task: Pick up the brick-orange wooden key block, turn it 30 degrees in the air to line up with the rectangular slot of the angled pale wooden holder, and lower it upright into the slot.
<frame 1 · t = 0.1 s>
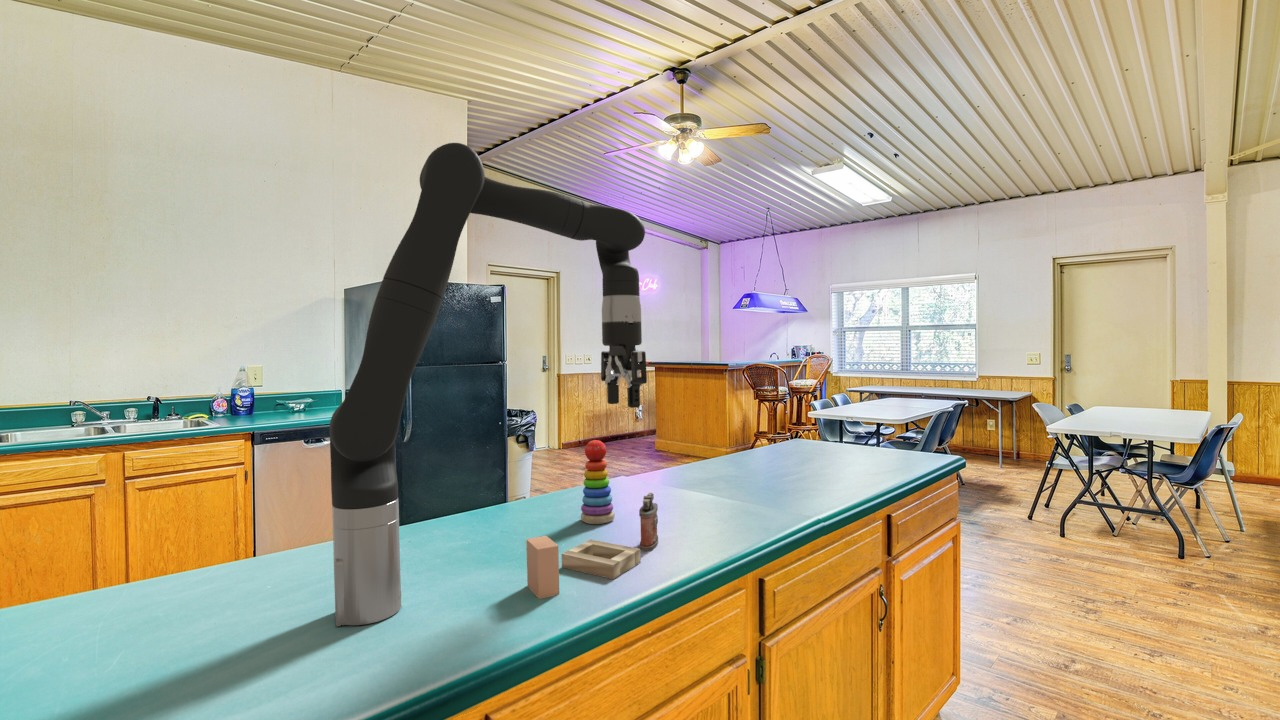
hand: (623, 405, 110), 29 cm above the counter, tool pointing down, fingers open, 8 cm apart
holder: (601, 564, 107), on the counter
key block: (543, 589, 96), on the counter
stacking toy: (597, 521, 135), on the counter
lighter: (649, 545, 117), on the counter
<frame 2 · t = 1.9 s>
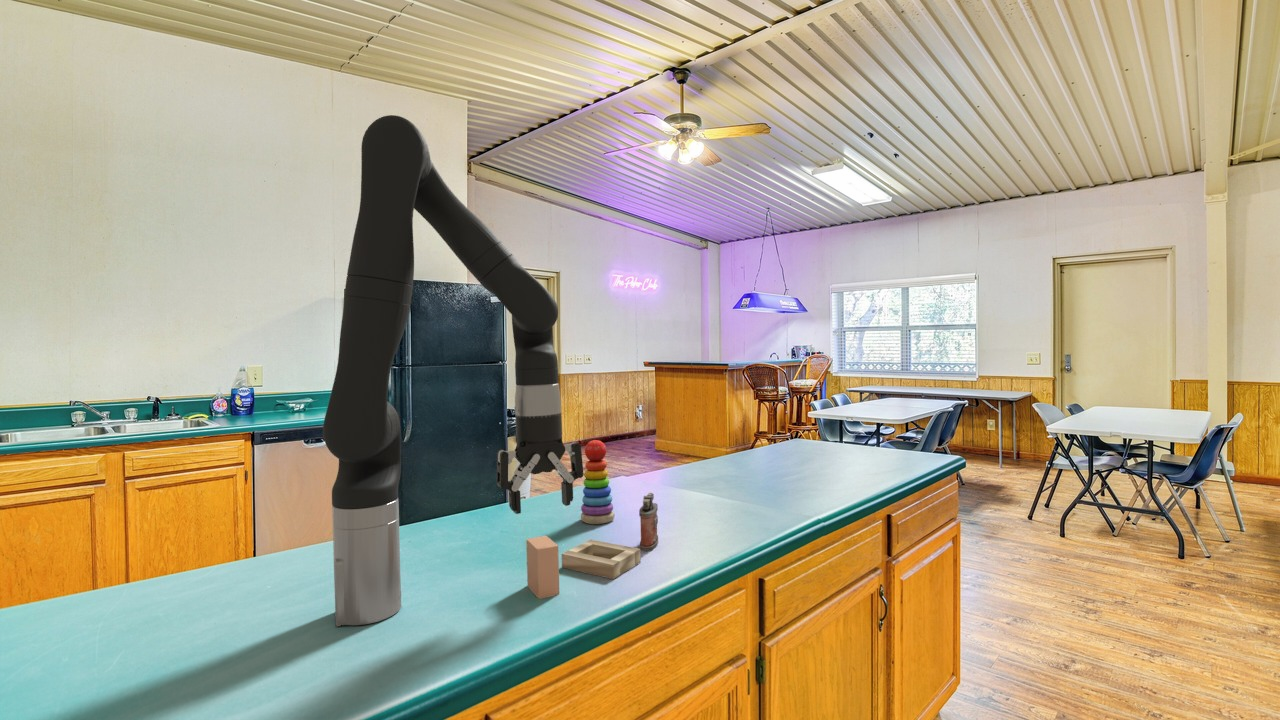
hand: (542, 508, 96), 14 cm above the counter, tool pointing down, fingers open, 8 cm apart
nothing on the counter moved.
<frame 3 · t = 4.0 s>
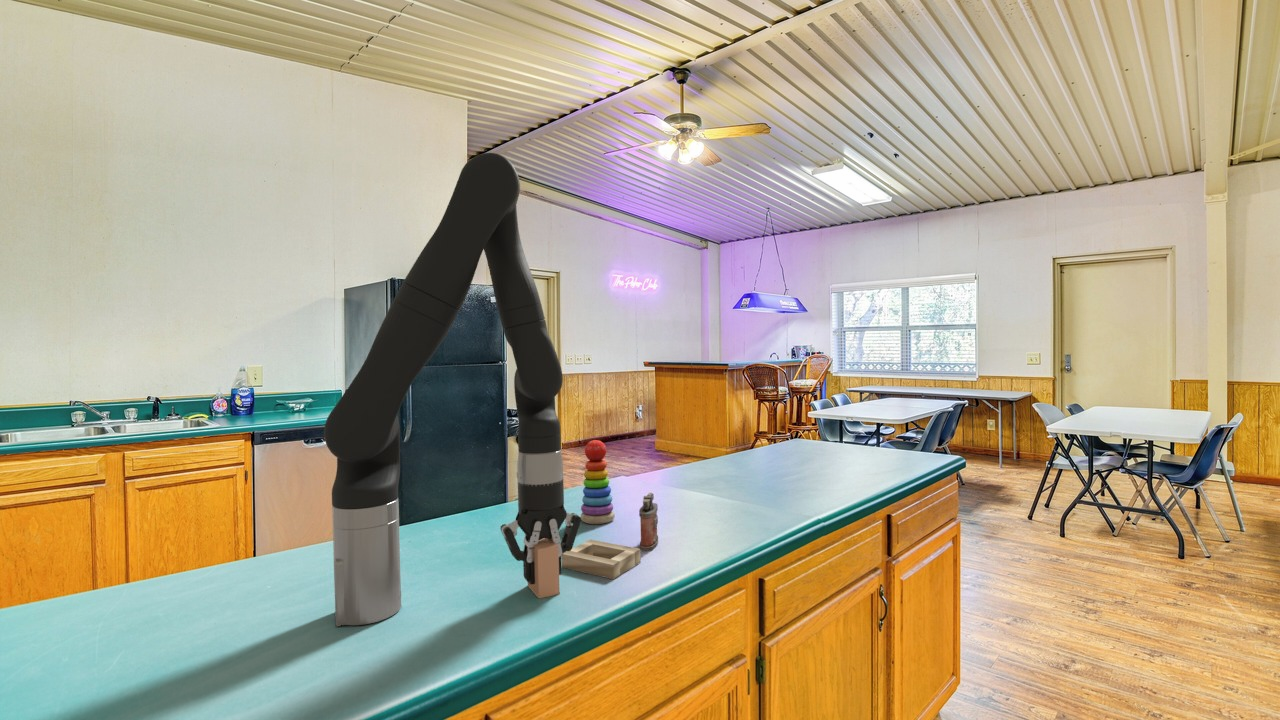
hand: (543, 579, 96), 2 cm above the counter, tool pointing down, fingers closed on key block, 3 cm apart
key block: (543, 589, 96), on the counter, touching gripper
everything else where it was.
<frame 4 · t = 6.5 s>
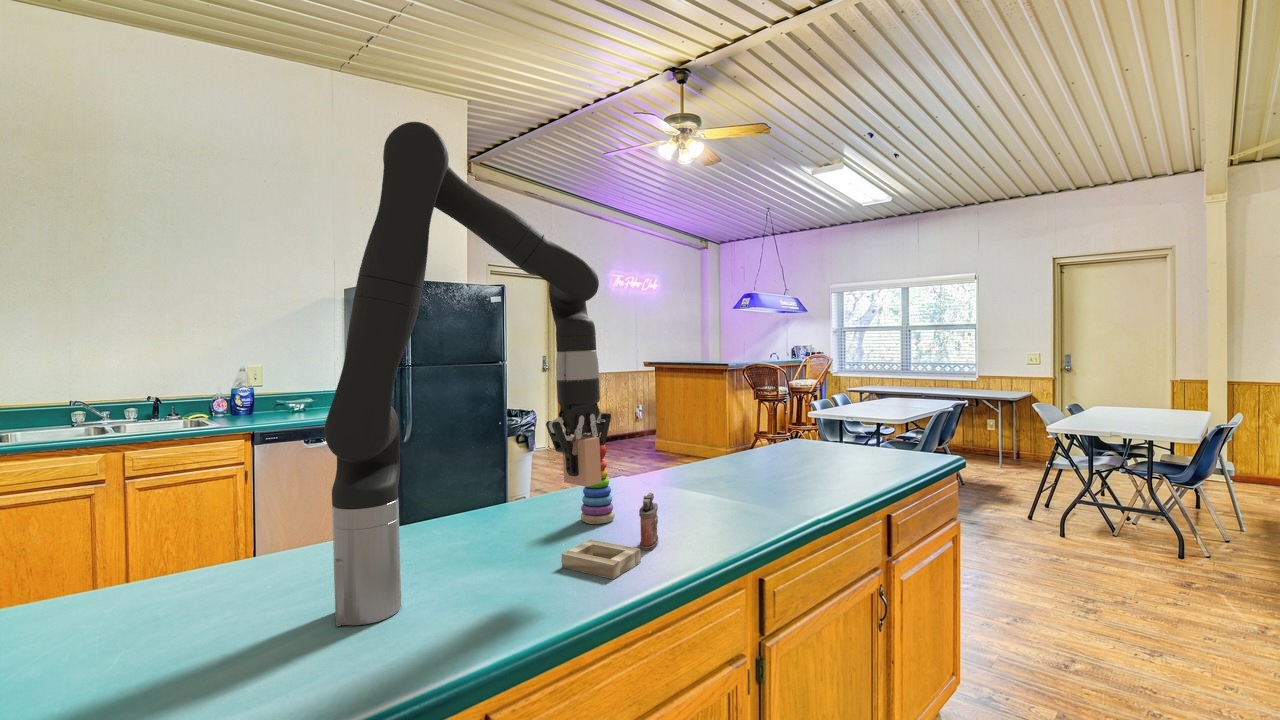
hand: (582, 472, 102), 18 cm above the counter, tool pointing down, fingers closed on key block, 3 cm apart
key block: (582, 482, 102), point 16 cm above the counter, touching gripper
everything else where it was.
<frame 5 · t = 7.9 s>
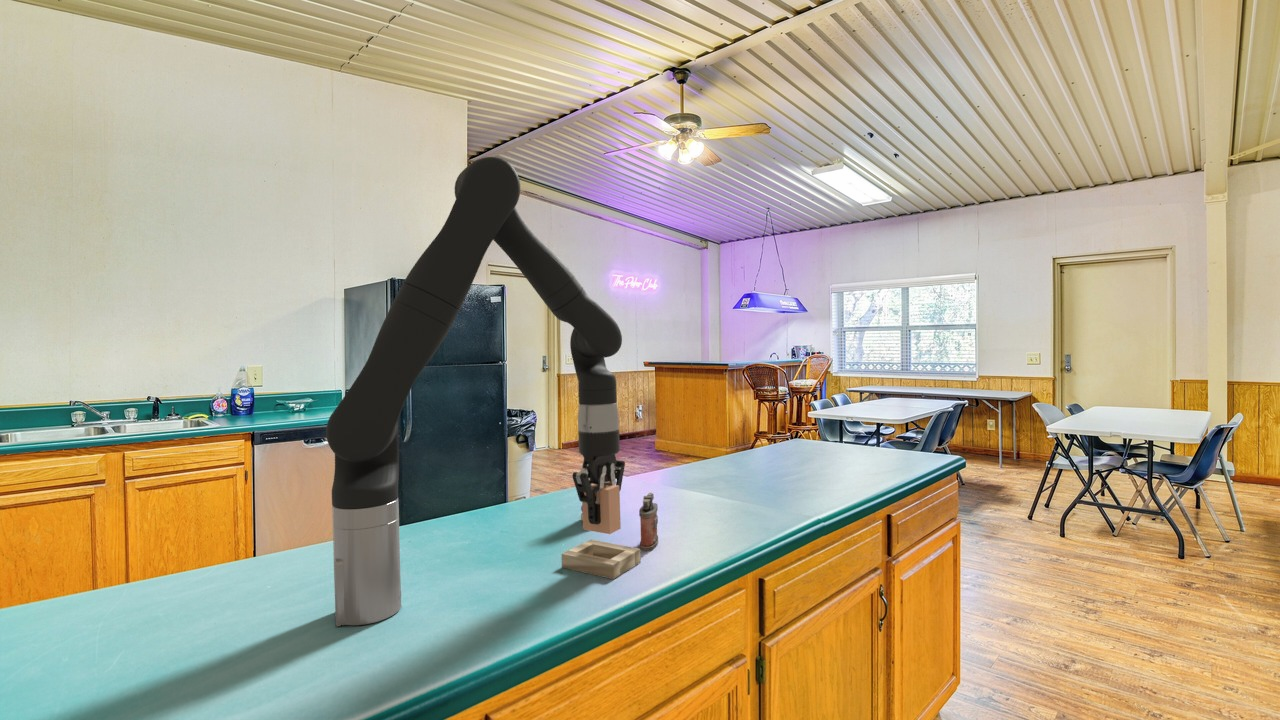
hand: (601, 520, 106), 8 cm above the counter, tool pointing down, fingers closed on key block, 3 cm apart
key block: (601, 529, 106), point 7 cm above the counter, touching gripper
everything else where it was.
when the fingers open (3 cm above the counter, at t = 9.2 s): key block drops 2 cm, resting in holder.
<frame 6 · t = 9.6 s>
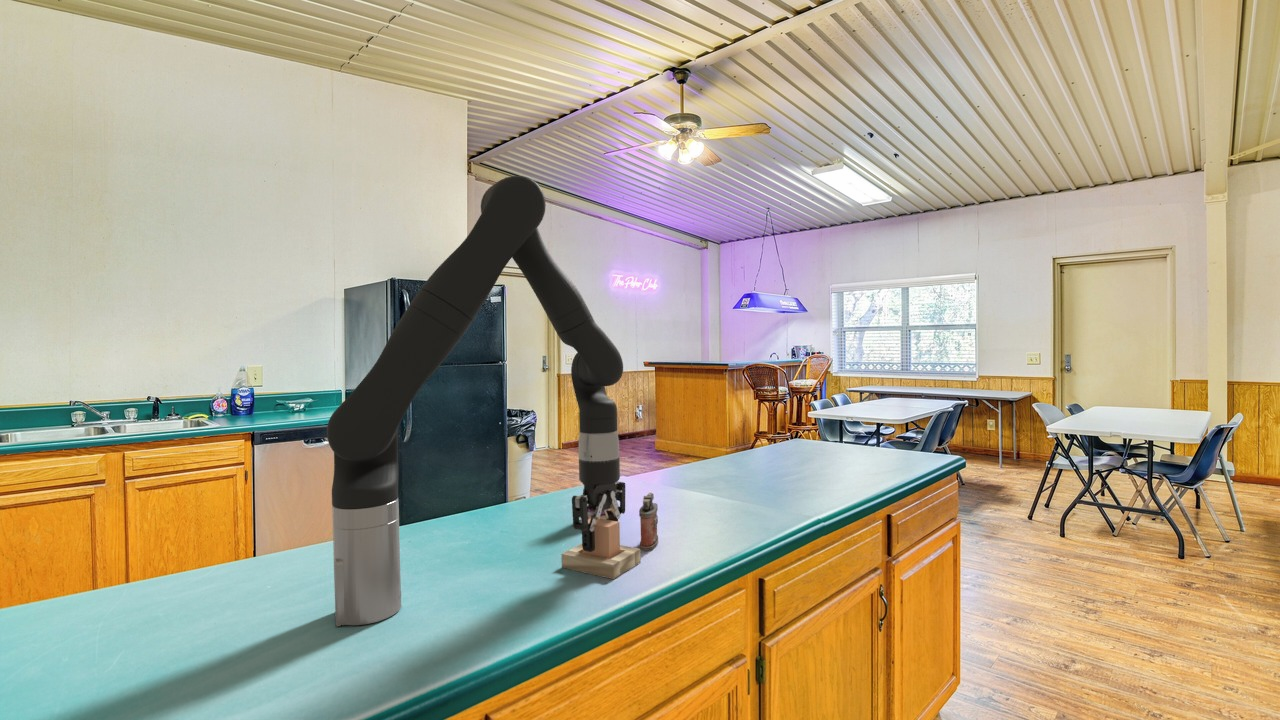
hand: (601, 544, 107), 4 cm above the counter, tool pointing down, fingers open, 7 cm apart
key block: (601, 565, 107), resting in holder
everything else where it was.
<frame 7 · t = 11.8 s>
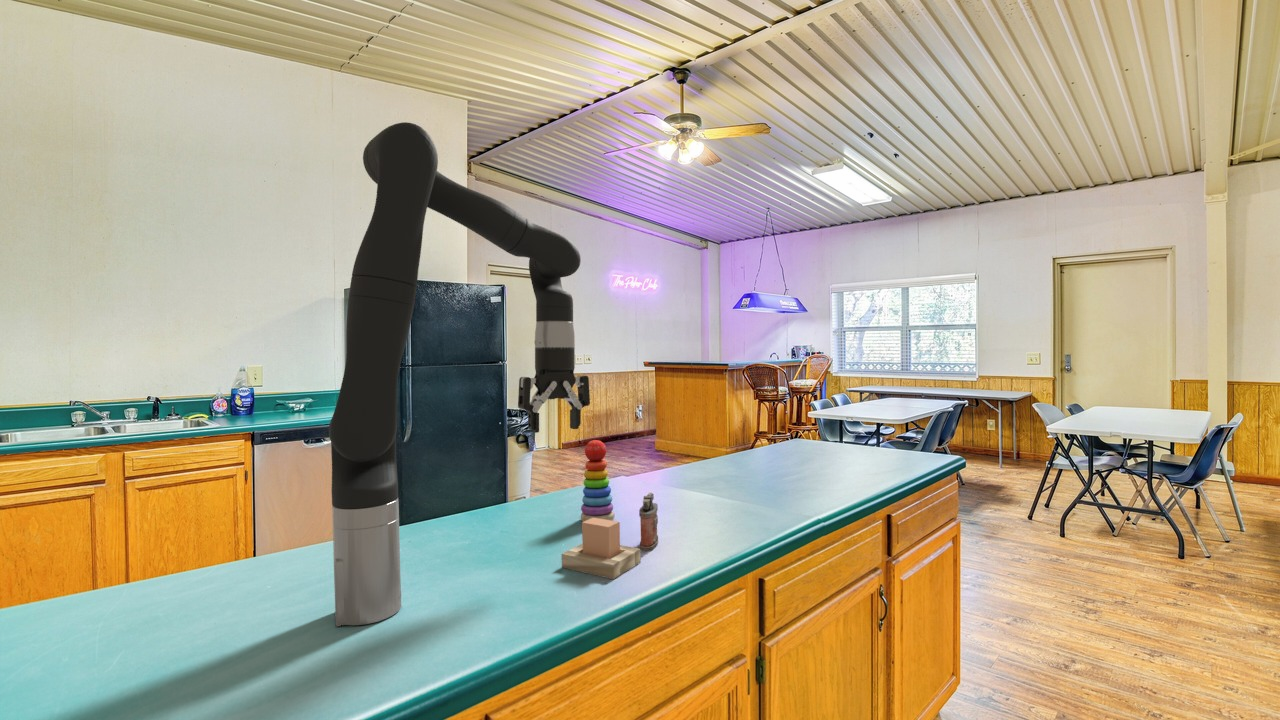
hand: (555, 430, 110), 25 cm above the counter, tool pointing down, fingers open, 8 cm apart
nothing on the counter moved.
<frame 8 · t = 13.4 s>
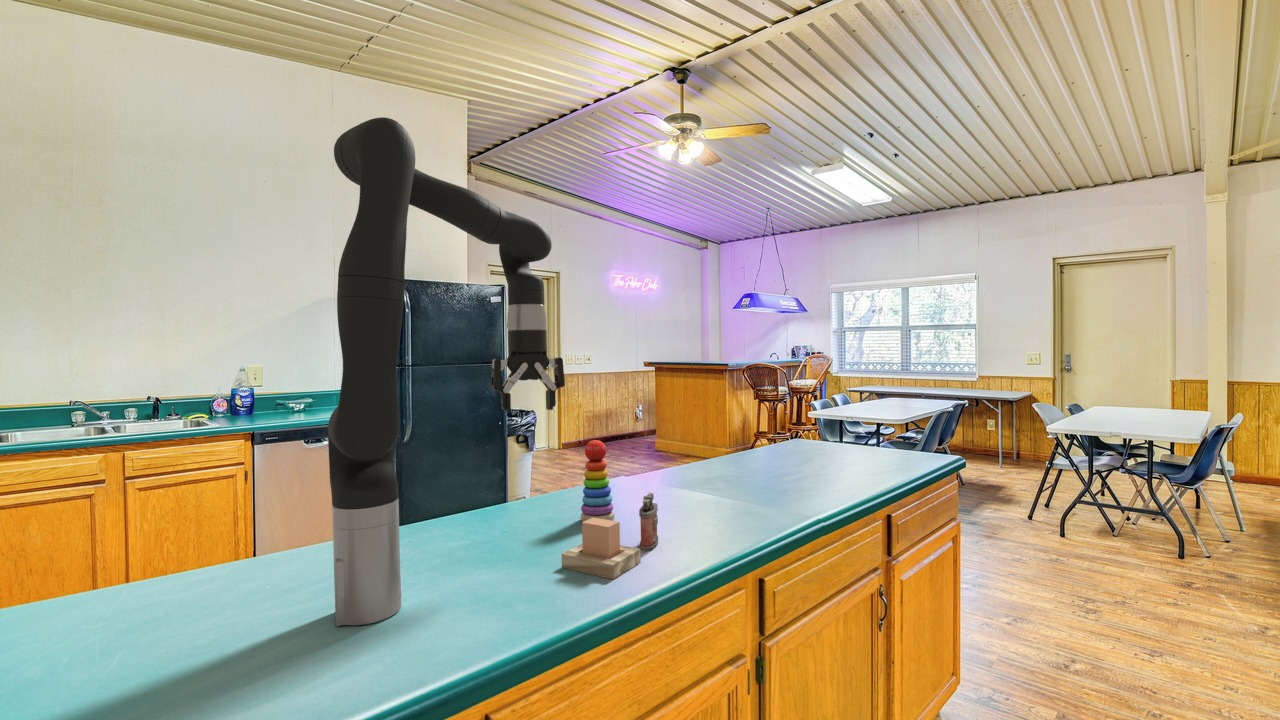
hand: (529, 411, 113), 28 cm above the counter, tool pointing down, fingers open, 8 cm apart
nothing on the counter moved.
at the end: key block 0.0 cm off-centre on the holder, point 0.0 cm above the holder's base; key block tilted 0°; the gripper is holding nothing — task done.
